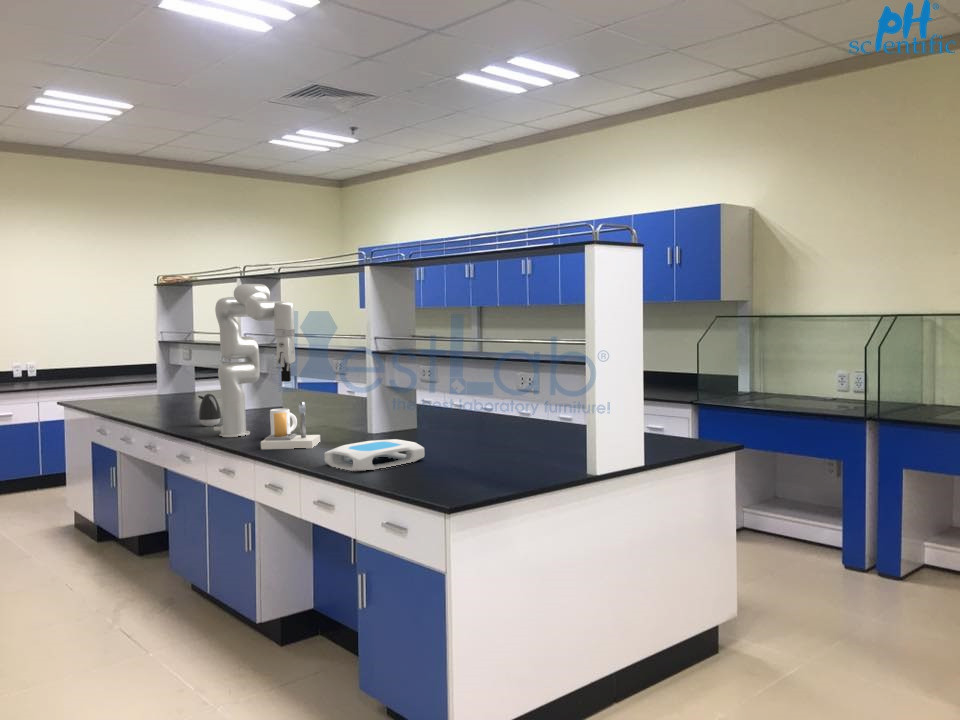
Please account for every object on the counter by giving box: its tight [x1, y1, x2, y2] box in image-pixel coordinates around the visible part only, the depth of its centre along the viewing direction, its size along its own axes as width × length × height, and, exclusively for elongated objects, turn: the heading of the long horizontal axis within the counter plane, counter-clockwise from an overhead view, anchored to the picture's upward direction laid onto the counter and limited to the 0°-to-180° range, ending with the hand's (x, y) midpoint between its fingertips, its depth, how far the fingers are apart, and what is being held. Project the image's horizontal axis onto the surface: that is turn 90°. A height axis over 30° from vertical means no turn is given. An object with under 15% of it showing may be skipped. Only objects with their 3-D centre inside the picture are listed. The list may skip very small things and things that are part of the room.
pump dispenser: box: [198, 393, 222, 427], centre depth 371 cm, size 10×10×15 cm
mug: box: [269, 407, 298, 435], centre depth 331 cm, size 8×12×12 cm
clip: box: [298, 401, 307, 438], centre depth 304 cm, size 14×2×14 cm, turn 12°
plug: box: [273, 412, 288, 438], centre depth 310 cm, size 6×6×10 cm
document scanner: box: [324, 438, 425, 472], centre depth 272 cm, size 21×28×6 cm
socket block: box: [260, 433, 321, 450], centre depth 311 cm, size 20×14×4 cm
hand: (286, 381), depth 304 cm, fingers closed
